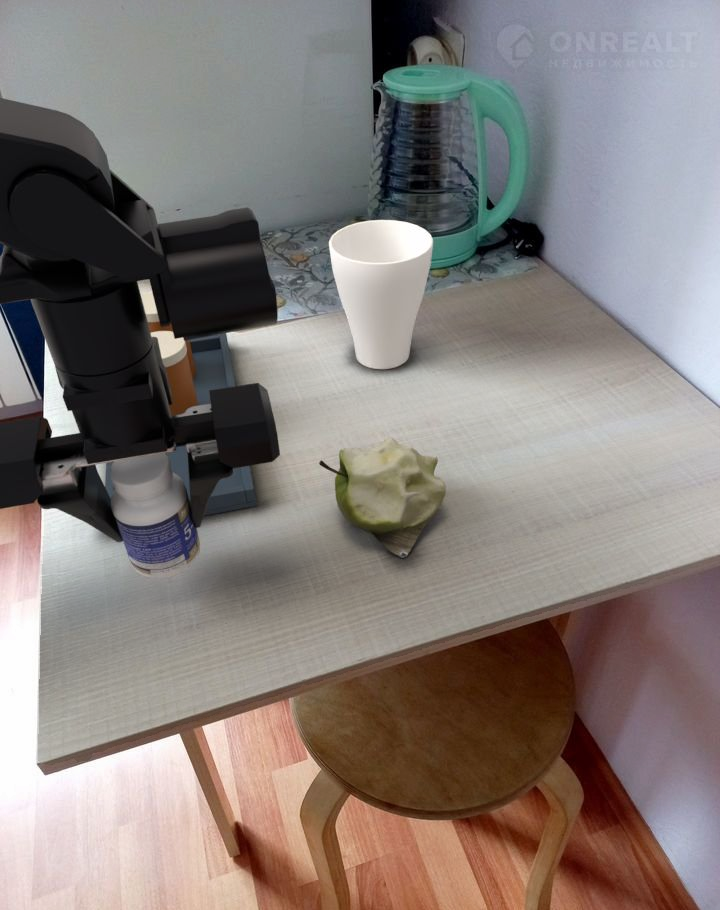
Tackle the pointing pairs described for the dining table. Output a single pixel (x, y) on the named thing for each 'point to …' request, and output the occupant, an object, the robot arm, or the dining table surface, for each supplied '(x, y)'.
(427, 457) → the fruit
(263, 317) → the robot arm
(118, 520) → the pill bottle
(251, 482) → the tray
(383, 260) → the cup
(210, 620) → the dining table surface
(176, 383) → the amber bottle middle
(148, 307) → the amber bottle far
